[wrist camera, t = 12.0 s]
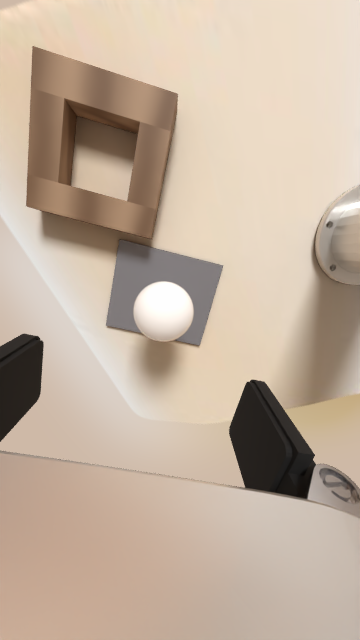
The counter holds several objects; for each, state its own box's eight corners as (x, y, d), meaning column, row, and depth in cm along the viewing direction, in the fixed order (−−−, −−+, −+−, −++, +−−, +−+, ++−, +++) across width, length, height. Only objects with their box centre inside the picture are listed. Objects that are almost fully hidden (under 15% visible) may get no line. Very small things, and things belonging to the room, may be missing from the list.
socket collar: (177, 111, 25) (177, 93, 22) (152, 239, 29) (149, 238, 26) (49, 70, 24) (32, 46, 21) (41, 210, 28) (26, 206, 25)
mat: (222, 265, 30) (223, 265, 30) (199, 344, 34) (199, 345, 34) (120, 239, 29) (119, 239, 29) (106, 324, 33) (106, 325, 32)
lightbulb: (179, 324, 32) (183, 359, 22) (137, 310, 32) (120, 340, 21) (194, 282, 31) (207, 299, 20) (150, 267, 30) (139, 276, 19)
